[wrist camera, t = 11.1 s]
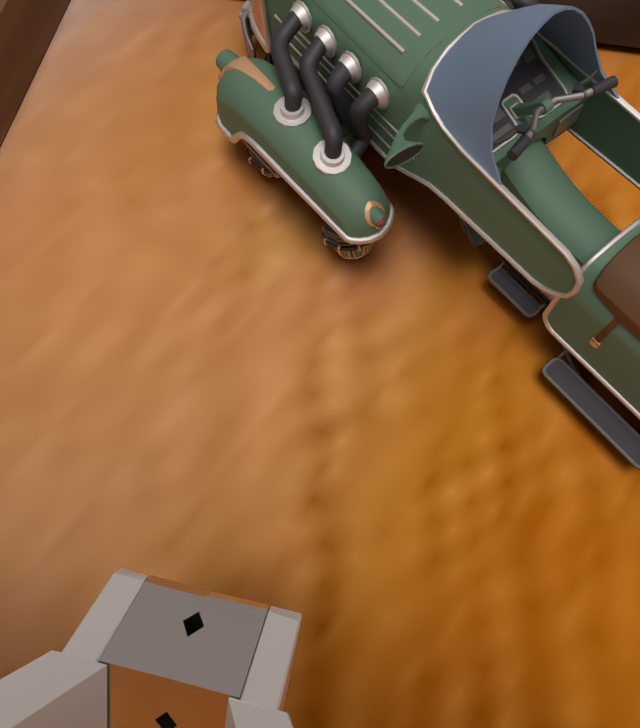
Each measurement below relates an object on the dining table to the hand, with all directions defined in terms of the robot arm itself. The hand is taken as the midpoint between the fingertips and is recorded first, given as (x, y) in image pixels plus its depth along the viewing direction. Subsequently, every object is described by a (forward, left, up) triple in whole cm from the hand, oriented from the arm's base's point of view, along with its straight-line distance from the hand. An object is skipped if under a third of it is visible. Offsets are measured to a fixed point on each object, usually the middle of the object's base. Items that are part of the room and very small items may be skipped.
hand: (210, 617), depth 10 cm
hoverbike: (+5, +12, -8) cm, 15 cm away
